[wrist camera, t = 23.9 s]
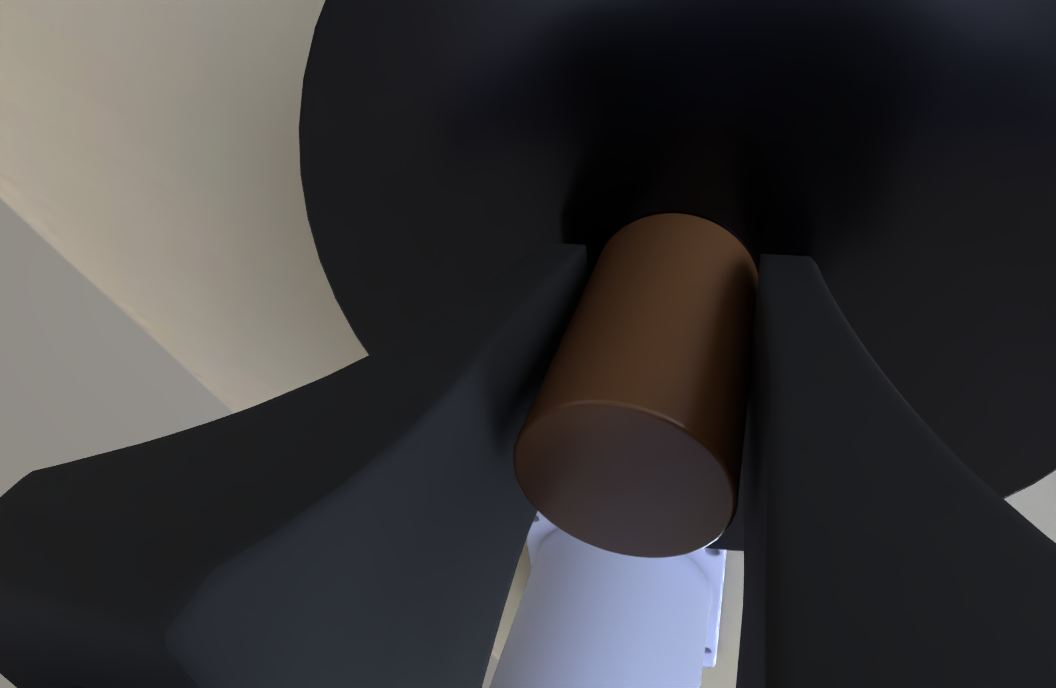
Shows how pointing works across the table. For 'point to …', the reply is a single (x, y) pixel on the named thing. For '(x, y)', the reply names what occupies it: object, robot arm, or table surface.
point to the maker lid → (701, 217)
